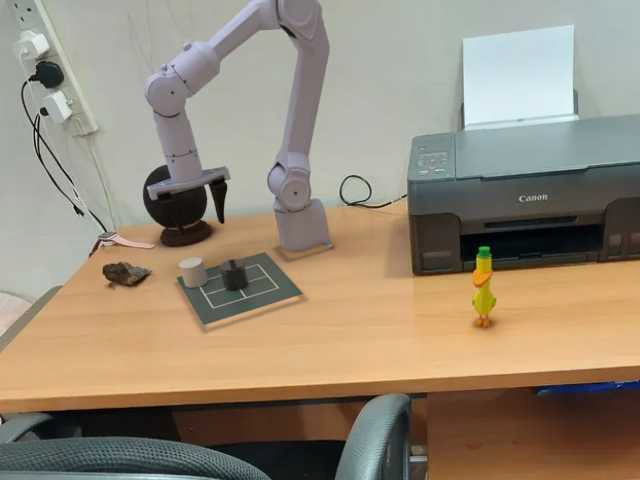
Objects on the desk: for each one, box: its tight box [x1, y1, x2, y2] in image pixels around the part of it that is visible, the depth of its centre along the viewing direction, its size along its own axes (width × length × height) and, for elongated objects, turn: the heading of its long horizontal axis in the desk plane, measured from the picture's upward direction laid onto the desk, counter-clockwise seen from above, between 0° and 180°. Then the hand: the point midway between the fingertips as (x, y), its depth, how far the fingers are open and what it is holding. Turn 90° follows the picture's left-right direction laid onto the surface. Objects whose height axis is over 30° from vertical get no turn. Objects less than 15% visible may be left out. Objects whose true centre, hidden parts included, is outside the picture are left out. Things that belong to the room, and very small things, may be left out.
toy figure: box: [471, 246, 497, 328], centre depth 98 cm, size 7×4×12 cm, turn 158°
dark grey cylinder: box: [219, 258, 249, 291], centre depth 119 cm, size 4×4×4 cm
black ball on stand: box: [142, 164, 213, 248], centre depth 141 cm, size 13×13×15 cm
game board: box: [176, 251, 304, 326], centre depth 120 cm, size 18×22×1 cm
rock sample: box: [101, 261, 153, 286], centre depth 128 cm, size 10×8×9 cm
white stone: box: [178, 256, 208, 288], centre depth 122 cm, size 4×4×4 cm
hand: (202, 227), depth 123 cm, fingers open, 7 cm apart
